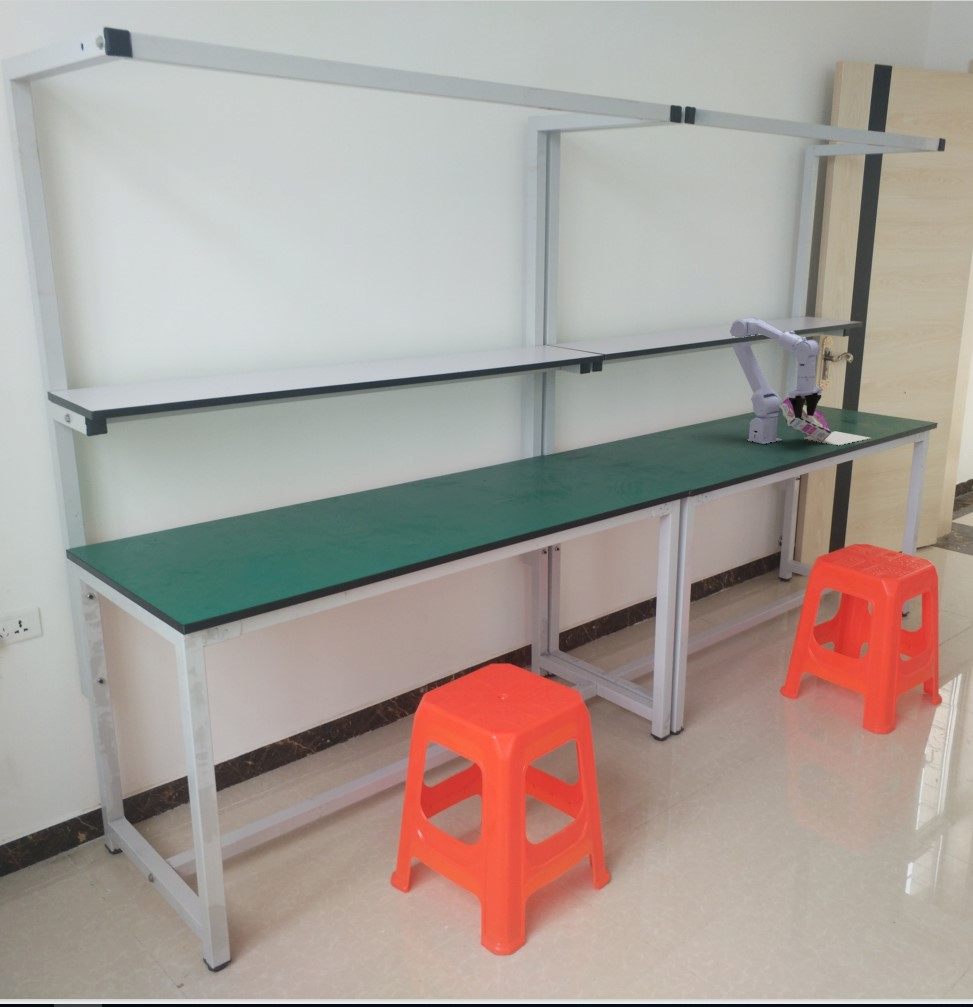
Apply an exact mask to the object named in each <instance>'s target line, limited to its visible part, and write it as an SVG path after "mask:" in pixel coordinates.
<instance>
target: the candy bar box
mask: <svg viewBox="0 0 973 1007" xmlns="http://www.w3.org/2000/svg"><path fill="white" fill-rule="evenodd" d="M779 407H780V409H781V411H780V412H781V413H782V415H783V418H784V419H785V422H786V424H787V426H788V427H790V428H791V429H794V430H796V431H798V432H801V433H803V434H805V435H808V437H810V436H811V437H814V438H816V439H818V440H820V441H822V442H823V441H824V440H825V439H826V438H827V437H828V436H829V435H830V434H831V433H832V432H833V431H832V430H831V429H830V428H831V427H829V425H828V423H827V421H826V419H825V417H824V415H823V413H822V412H820V411H818V410H816V409H815V412H814V415H813V416H808V415H807V404H806V405H805V404H804V405H803V411H802V417H801V418H795V414H794V410H793V407H792V404H791V402H790V400H789V396H787V397H786V398H785V400H783V401H782V404H781V405H780V406H779Z"/></svg>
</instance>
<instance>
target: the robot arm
mask: <svg viewBox="0 0 973 1007" xmlns="http://www.w3.org/2000/svg"><path fill="white" fill-rule="evenodd" d="M729 332H730V335H731V337H732V336H735V337H742V338H744V337H745V336H751V335H755V336H757V337H758V335H762V336H765V337H767V338H769V339H772V340H774V341H776V342H778V344H779V347H781V348H783V349H785V350H787V351H789V352H791V353H793V354H794V355H795V357H796V359H797V360H796V362H797V372H796V374H797V375H796V389H793V390H791V391H788V397H789V400H790V402H791V404H792V407H793V410H794V414H795V418H801V417H802V411H803V405H805V403H806V406H807V415H808V416H813V415H814V412H815V410H816V408H817V406H818V404H819V402H820V400H821V398H822V390H823V389H822V387H815V386H816V363H817V362H816V361H817V356H818V355H819V354H820V350H821V347H820V344H819V343H818V342H817V341H816V339H807V337H805V336H800V335H798V334H796V332H795V331H794V330H786V331H784V332H783V331H782V330H779V329H778V328H777V327H774V326H772V325H770V324H768V323H767V322H765V321H764V320H763V319H759V318H757V317H750V318H742V319H741V318H740V319H739V318H738V319H735V320H734V321H732V325H731V327H730V330H729ZM752 343H753V342H750V343H743V344H737V345H733V344H732V348H733V351H734V353H735V355H736V358H737V360H738V363H739V364H740V367H741V369H742V370H743V373H744V375H745V377H746V380H747V382H748V384H749V386H750V389H751V391H752V393H753V394H752V396H751V397H750V398H751V399H750V400H751V402H752V410H753V413H754V414H755V418H752V419H751V420H750V422H749V429H748V430H749V432H748V433H749V434H748V438H747V439H746V441H747V440H748V441H747V442H752V441H753V443H757V444H762V445H765V444H766V443H767V444H771V443H770V442H772V443H777V442H781V441H782V440H783V439H782V438H778V436H777V434H778V419H779V415H780V414H779V413H780V412H782V411H781V409H780V407H779V406H780V405H781V404H782V403H783V400H782V398H781V397H780V396H779V395H778V394H777V392H776V391H775V390H774V389H773V388H772V387H770V386H769V385H768V383H767V380H766V378H765V377H764V376H765V375H764V374H763V372H762V369H761V367H760V366H759V363H758V361H757V359H756V356H755V354H754V351H753V350H752ZM776 441H777V442H776Z"/></svg>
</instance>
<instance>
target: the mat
mask: <svg viewBox="0 0 973 1007" xmlns="http://www.w3.org/2000/svg"><path fill="white" fill-rule="evenodd" d="M831 432H832V433H831V434H830V435H829V436H828V437H827V438H826V439H825V440H824V441H823V442H822V441H820V440H818V439H816V438H814V437H811V436H807V437H803V438H804V439H803V440H805V439H808V440H807V441H811V440H813V441H812V442H816V441H817V442H816V443H821V442H822V443H821V444H826V443H827V444H828V445H831V444H832V445H833V446H836V445H838V446H837V447H840V446H839V445H841V446H845V445H844V444H846V445H849V444H848V443H850V444H853V443H852V442H855V443H858V442H857V441H859V442H863V441H862V440H864V441H868V440H871V439H872V437H868V436H862V435H858V434H853V433H846V432H841V431H837V430H836V431H831ZM867 439H868V440H867ZM827 444H826V445H827ZM832 445H831V446H832Z"/></svg>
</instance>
